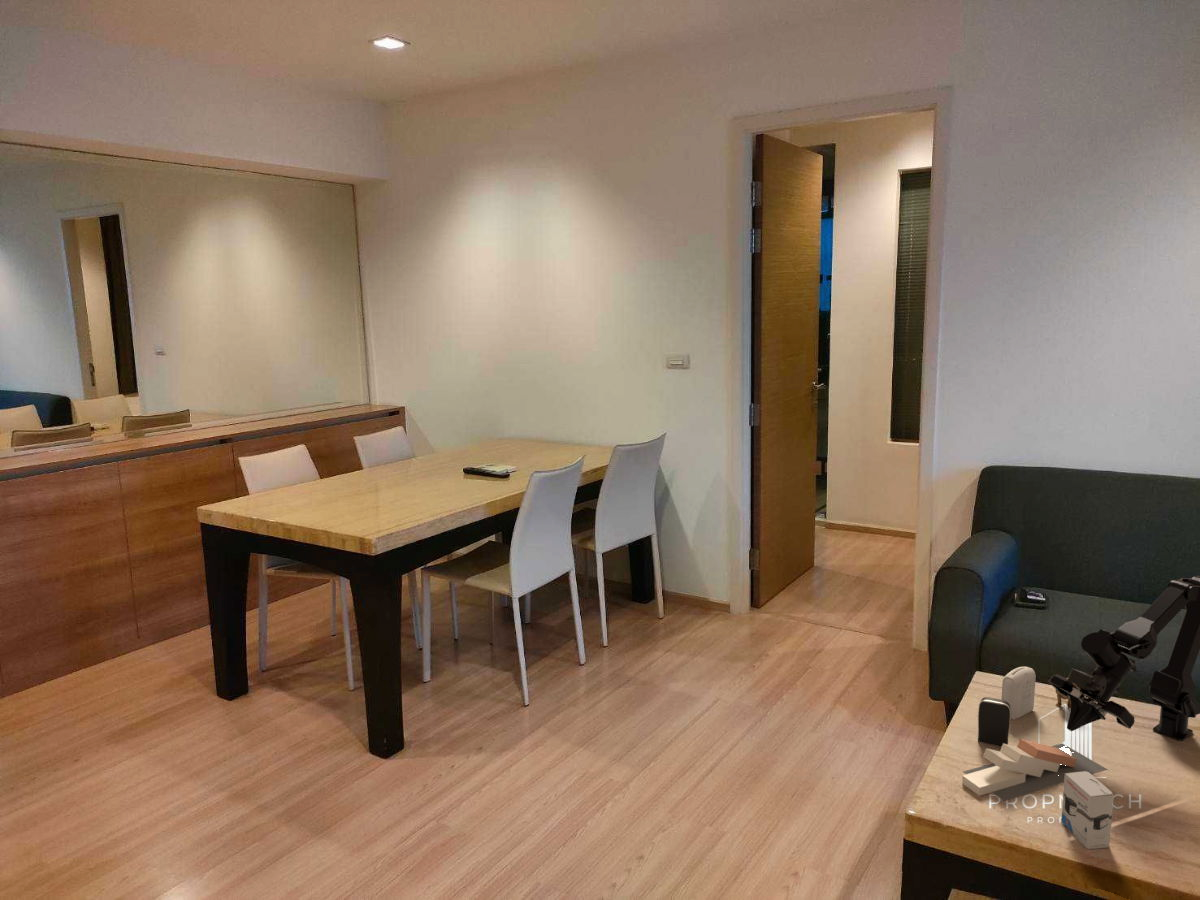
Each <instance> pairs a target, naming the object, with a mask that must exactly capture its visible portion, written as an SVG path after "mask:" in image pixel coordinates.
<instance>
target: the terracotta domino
mask: <svg viewBox="0 0 1200 900" xmlns="http://www.w3.org/2000/svg"><path fill="white" fill-rule="evenodd" d="M1018 741H1019V742H1018V744H1017V746H1016V747H1018V748H1020V749H1021V750H1023V751H1025V752H1026V753H1028V754H1029V755H1031V756H1033V757H1034V758H1037V759H1041V760H1045V761H1049V762H1054V763H1058V764H1062V765H1066V766H1070V767H1074V766H1075V763H1076V761H1077V759H1076V758H1074V757H1072V756H1070V755H1069V754H1067V753H1065V752H1064V751H1062V750H1060V749H1059V748H1055V747H1051V746H1052V745H1046V744H1042V743H1038V742H1034V741H1030V740H1026V739H1022V738H1020V739H1019V740H1018Z"/></svg>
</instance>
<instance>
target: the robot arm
mask: <svg viewBox="0 0 1200 900" xmlns="http://www.w3.org/2000/svg"><path fill="white" fill-rule="evenodd" d="M1184 607H1185V613H1184V617H1183V619H1182V622H1181V626H1180V628H1179V631H1178V634H1177V637H1176V639H1175V641H1174V645H1173V648H1172V651H1171V653H1170V655H1169V656H1170V657H1169V659H1168V662H1167V665H1166V666H1165V667H1164V668H1162V669H1160V670H1156V669H1155V671H1154V672H1153V675H1152V679H1151V681H1150V682H1149V687H1148V688H1149V690H1148V691H1149V692H1148V693H1149V695H1150V699H1151V703H1152V704H1155V705H1157V706H1160V713H1159V721H1158V722H1159V723H1158V724H1157V725H1155V726H1154V727H1153V728H1152V730H1153V731H1154V732H1156V733H1159V734H1162V735H1164V736H1168V737H1171V738H1172V739H1173V738H1174V739H1176V740H1178V741H1184V740H1185V739H1186V738H1188V737H1189V736H1190V735H1192V734H1193V733H1194V730H1192V729H1190V728H1188V727H1189V718H1192V719H1194V718H1196V717H1197V716H1198V715H1199V714H1200V703H1199V702H1198V701H1197V700H1196V698H1194V694H1195V688H1196V687H1195V684H1194V681H1193V678H1192V672H1193V669H1194V667H1195V664H1196V661H1197V658H1198V656H1199V652H1200V575H1194V576H1193V577H1191V578H1188V577H1187V578H1185V577H1181V578H1179V579H1171V580H1170V581H1169V583H1168V584H1167V588H1166V589H1165V590H1164V591H1163V592H1162V593H1161V594H1160V595H1159V596H1158V597H1157V598H1156V600H1154V602H1152V604H1151V605H1150V606H1149V607H1148V608H1147V609H1146V610H1145V611H1144V612H1143V613H1142V614H1141V615H1140V616H1139V617H1137V618H1136V619H1133V620H1129V621H1126V622H1125V623H1124V624H1122V625H1120V626H1119V627H1118V628H1117V629H1116V630H1115V631H1111V632H1109V631H1108V630H1105V629H1103V628H1100V629H1099V631H1097V632H1096V631H1095V632H1091V633H1089V634H1087V635H1084V637H1082V639H1081V644H1080V646H1081V649H1082V650H1083V651H1084V652H1085V653H1086V655H1087V656H1088V657H1089V658H1090V659H1091V660H1092V661H1093V662H1094V663H1095V664H1096V665H1097V666H1096V667H1095V669H1092V668H1090V669H1087V671H1086V672H1084V671H1081V670H1079V669H1075V668H1071V670H1070V672H1069V675H1068V677H1064V676H1062V675H1060V674H1057V673H1056V674H1053V675H1052V676H1051V677H1050V679H1049V680H1048V683H1049V684H1050V685H1051V686H1052V687H1053V688H1054V689H1055V691H1056V690H1057V691H1058V692H1059V693H1061V694H1062V695H1064V696H1066V697H1068V698H1070V700H1071V709H1070V712H1069V717H1068V720H1067V724H1066V725H1067V726H1066V728H1067V730H1068V731H1070V732H1073V731H1075V730H1077V729H1080V728H1082V727H1084V726H1087V725H1088V724H1090V723H1094V722H1097V721H1099V720H1103V721H1105V720H1106V719H1107V718H1106V715H1107V714H1109V715H1111V716H1113V717H1115V719H1116V722H1117V723H1118V724H1119V725H1121V726H1123V727H1124V728H1127V729H1128V730H1131V729H1132V727H1133V725H1134V724H1135V716H1134V715H1133V714H1132V713H1131V712H1130V711H1129V710H1128V709H1127V708H1126V707H1125V706H1124V705H1122V704H1119V703H1117V702H1115V701H1114V700H1110V699H1111V698H1112V697H1113V696H1114V694H1115V693H1116V694H1120V692H1121V691H1122V689H1121V688H1120V686H1121V684H1122V682H1123V681H1124V680H1125V678H1126V677H1127V675H1128V674H1129V673H1130V672H1132V673H1134V674H1135V673H1137V672H1138V670H1137V669H1138V668H1137V664H1136V660H1134V659H1132V658H1129V657H1128V656H1130V657H1133V658H1136V659H1138V660H1144V659H1146V658H1147V657H1149V656H1150V655H1151V653H1152V652H1153V650H1154V649H1155V648H1156V646H1157V644H1158V635H1159V634H1160V632H1161V631H1163V629H1164V628H1165V627H1166V626H1167V625H1168V624H1169V623H1170V622H1172V620H1173V619H1174V618H1175V617H1176V616H1177V615H1178V613H1180V612H1181V611H1182V609H1183V608H1184ZM1126 654H1127V655H1128V656H1127V655H1126ZM1066 678H1068V679H1066ZM1073 683H1074V684H1076V686H1077V687H1079V688H1080V690H1079V689H1078V688H1077V687H1076V686H1075V685H1074V684H1073Z"/></svg>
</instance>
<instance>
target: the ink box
mask: <svg viewBox="0 0 1200 900" xmlns="http://www.w3.org/2000/svg"><path fill="white" fill-rule="evenodd" d="M1114 798H1115V797H1114V794H1113V792H1112V791H1111V790H1110V789H1109V788H1108V787H1107V786H1105V785H1104V784H1103V783H1102V782H1101V781H1099V780H1098V779H1097V778H1096V777H1095V776H1094V774H1090V773H1089V772H1086V771H1082V772H1072V773H1065V778H1064V783H1063V793H1062V808H1061V824H1063V825H1064V826H1065V827H1066V828H1067V829H1068V830H1069V831H1070V832H1071V833H1073V834H1074V835H1073V836H1074V838H1075V839H1076V840H1077V841H1079V842H1080V844H1082V845H1083V846H1084V847H1085V848H1086V849H1087V850H1094V849H1104V848H1110V847H1111V846H1110V844H1111V833H1112V832H1111V831H1112V829H1111V828H1112V820H1113V819H1112V817H1113V808H1114V807H1113V806H1114Z"/></svg>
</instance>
